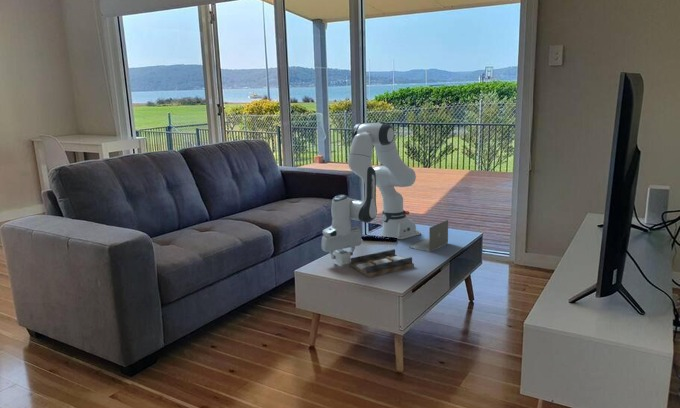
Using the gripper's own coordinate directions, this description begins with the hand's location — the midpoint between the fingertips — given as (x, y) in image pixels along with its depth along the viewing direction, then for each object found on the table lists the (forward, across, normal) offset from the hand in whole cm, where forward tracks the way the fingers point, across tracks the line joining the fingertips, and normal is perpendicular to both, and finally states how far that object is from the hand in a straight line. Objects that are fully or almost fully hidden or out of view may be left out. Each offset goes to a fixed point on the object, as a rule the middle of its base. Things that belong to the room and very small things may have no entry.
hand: (342, 257), depth 240 cm
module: (+2, 0, 0) cm, 2 cm away
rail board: (+2, -12, +16) cm, 20 cm away
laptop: (+2, -49, +3) cm, 49 cm away
